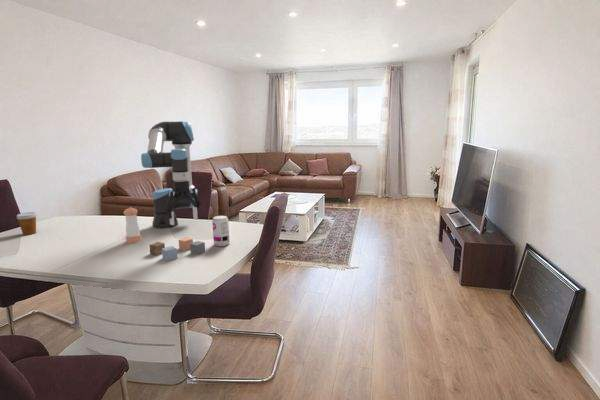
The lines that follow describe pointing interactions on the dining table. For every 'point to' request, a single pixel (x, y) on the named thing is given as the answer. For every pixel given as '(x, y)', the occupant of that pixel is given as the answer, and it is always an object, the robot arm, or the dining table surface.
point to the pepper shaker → (132, 226)
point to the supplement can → (220, 230)
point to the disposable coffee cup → (27, 222)
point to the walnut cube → (156, 248)
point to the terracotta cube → (185, 243)
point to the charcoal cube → (197, 247)
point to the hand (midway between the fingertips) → (184, 221)
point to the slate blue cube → (169, 253)
